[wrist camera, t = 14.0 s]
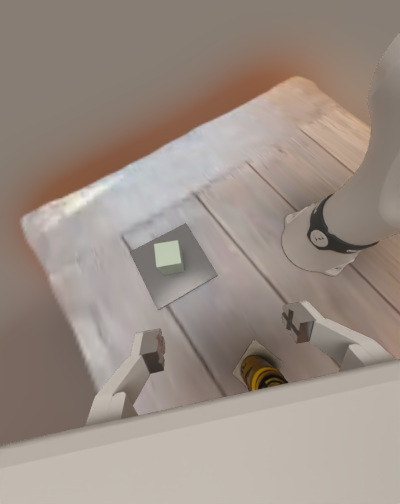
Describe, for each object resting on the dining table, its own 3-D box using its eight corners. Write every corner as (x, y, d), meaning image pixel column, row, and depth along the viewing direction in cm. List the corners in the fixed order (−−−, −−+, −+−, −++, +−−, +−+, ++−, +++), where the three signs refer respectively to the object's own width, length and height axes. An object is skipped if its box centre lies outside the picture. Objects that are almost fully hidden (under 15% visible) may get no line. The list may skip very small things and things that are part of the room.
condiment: (231, 373, 38) (245, 399, 27) (253, 338, 40) (275, 349, 29) (260, 399, 37) (288, 439, 25) (282, 361, 39) (316, 383, 27)
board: (186, 224, 49) (185, 223, 48) (217, 275, 44) (217, 275, 43) (131, 253, 46) (129, 252, 45) (158, 309, 42) (157, 309, 41)
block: (181, 252, 45) (177, 240, 38) (184, 271, 44) (181, 262, 36) (161, 255, 45) (153, 244, 37) (164, 274, 43) (156, 267, 36)
